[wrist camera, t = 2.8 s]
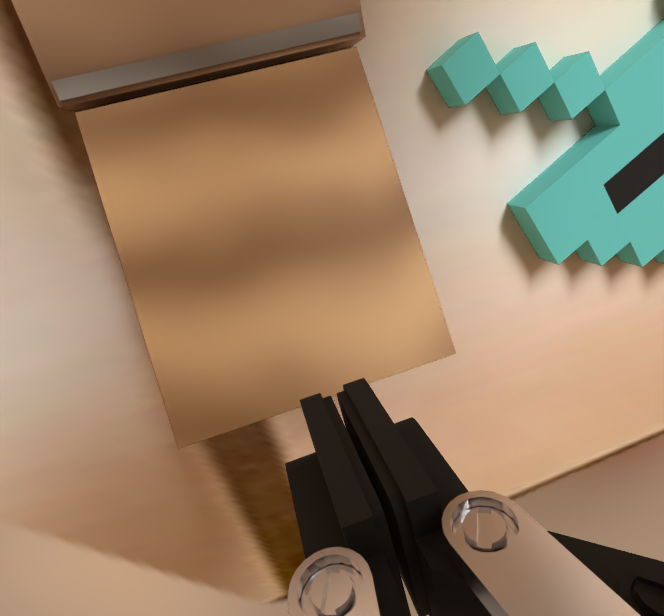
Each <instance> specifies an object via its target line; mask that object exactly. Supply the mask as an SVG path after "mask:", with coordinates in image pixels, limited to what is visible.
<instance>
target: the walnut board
mask: <svg viewBox="0 0 664 616" xmlns="http://www.w3.org/2000/svg"><path fill="white" fill-rule="evenodd" d="M11 1H12V3H13V5H14V8H15V10H16V12H17V14H18V17H19V19H20V21H21V24H22V26H23V28H24V30H25V33H26V35H27V37H28V39H29V42H30V44H31V46H32V49H33V51H34V53H35V55H36V58H37V60H38V62H39V65H40V67H41V69H42V71H43V74H44V76H45V78H46V80H47V83H48V85H49V87H50V90H51V92H52V94H53V96H54V99H55V101H56V103H57V105H58V108H62V109H67V110H72V111H75V110H80V109H84V108H88V107H93V106H97V105H101V104H105V103H110V102H114V101H118V100H122V99H127V98H131V97H135V96H140V95H144V94H148V93H152V92H157V91H161V90H165V89H169V88H174V87H178V86H182V85H187V84H191V83H195V82H199V81H204V80H208V79H212V78H216V77H221V76H225V75H229V74H234V73H238V72H242V71H246V70H251V69H255V68H259V67H263V66H268V65H272V64H276V63H280V62H285V61H289V60H293V59H298V58H302V57H306V56H310V55H315V54H319V53H323V52H327V51H332V50H336V49H340V48H345V47H349V46H353V45H354V44H355V43H357V42H358V41H360V40H361V39H363V38H364V37H366V36H365V30H364V24H363V18H362V12H361V7H360V1H359V0H11Z"/></svg>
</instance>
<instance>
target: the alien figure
mask: <svg viewBox="0 0 664 616" xmlns="http://www.w3.org/2000/svg"><path fill="white" fill-rule="evenodd" d="M426 71H427V73H428V74H429V76H430V78H431V79H432V81H433V83H434V84H435V86H436V88H437V89H438V91H439V93H440V94H441V96H442V98H443V99H444V101H445V103H446V104H447V106H448V107H457V106H464V105H466V104H467V103H469V102H470V101H471V100H472V99H473V98H474V97H475V96H476V95H477V94H479V93H480V92H481V91H482V90H483V89H484V88H485V87H486V88H487V90H488V92H489V94H490V96H491V97H492V99H493V101H494V103H495V105H496V107H497V108H498V110H499V112H500V114H508V113H520V112H522V111H523V110H524V109H525V108H526V107H527V106H528V105H529V104H531V103H532V102H533V101H534V100H535V99H536V98H537V97H538V98H539V100H540V102H541V104H542V106H543V108H544V110H545V112H546V114H547V116H548V118H549V120H564V119H573V118H574V117H575V116H576V115H577V114H578V113H580V112H581V111H582V110H583V109H584V108H585V107H587V109H588V111H589V113H590V115H591V118H592V120H593V122H594V124H595V127H594V128H592V129H591V130H590V131H589V132H588V133H587V134H586V135H584V136H583V137H582V138H581V139H580V140H579V141H578V142H577V143H575V144H574V145H573V146H572V147H571V148H570V149H569V150H567V151H566V152H565V153H564V154H563V155H562V156H561V157H560V158H558V159H557V160H556V161H555V162H554V163H553V164H552V165H550V166H549V167H548V168H547V169H546V170H545V171H544V172H543V173H541V174H540V175H539V176H538V177H537V178H536V179H535V180H533V181H532V182H531V183H530V184H529V185H528V186H527V187H525V188H524V189H523V190H522V191H521V192H520V193H519V194H518V195H516V196H515V197H514V198H513V199H512V200H511V201H510V202H508V203H507V205H508V207H509V208H510V210H511V212H512V213H513V215H514V217H515V218H516V220H517V222H518V223H519V225H520V227H521V228H522V230H523V232H524V233H525V235H526V237H527V238H528V240H529V241H530V243H531V245H532V246H533V248H534V250H535V251H536V253H537V255H538V256H539V258H542V259H544V260H547V261H550V262H552V263H555V264H558V265H559V264H560V263H561V262H562V261H564V260H565V259H566V258H567V257H568V256H569V255H571V254H572V253H573V252H574V251H575V250H576V252H577V254H578V255H579V257H580V259H582V260H585V261H588V262H591V263H594V264H597V265H600V266H602V265H604V264H605V263H606V262H607V261H608V260H609V259H611V258H612V257H613V256H614V255H615V254H617V256H618V258H619V260H620V261H624V262H627V263H630V264H634V265H637V266H640V267H643V266H645V265H646V264H647V263H648V262H649V261H650V260H652V259H653V258H654V257H655V259H656V261H657V262H660V263H664V19H663V20H662V21H661V22H659V23H658V24H657V25H656V26H655V27H654V28H653V29H652V30H650V31H649V32H648V33H647V34H646V35H645V36H644V37H643V38H641V39H640V40H639V41H638V42H637V43H636V44H635V45H634V46H632V47H631V48H630V49H629V50H628V51H627V52H626V53H625V54H623V55H622V56H621V57H620V58H619V59H618V60H617V61H616V62H614V63H613V64H612V65H611V66H610V67H609V68H608V69H607V70H605V71H604V72H603V73H602V74H601V75H600V76H599V74H598V71H597V69H596V67H595V64H594V62H593V60H592V57H591V55H590V53H589V51H588V52H584V53H580V54H576V55H571V56H567V57H564V58H563V59H562V60H560V61H559V62H558V63H557V64H556V65H555V66H554V67H553V68H552V69H550V70H549V69H548V67H547V65H546V63H545V61H544V59H543V57H542V55H541V52H540V50H539V48H538V46H537V44H536V42H534V43H531V44H527V45H524V46H521V47H517V48H514V49H513V50H512V51H510V52H509V53H508V54H507V55H506V56H505V57H504V58H503V59H502V60H500V61H499V62H498V63H497V64H496V65H495V63H494V61H493V59H492V57H491V55H490V54H489V52H488V50H487V48H486V46H485V44H484V42H483V40H482V38H481V36H480V35H479V33H478V32H477V33H474V34H472V35H469V36H467V37H464V38H462V39H459V40H458V41H457V42H456V43H455V44H454V45H453V46H452V47H451V48H450V49H449V50H447V51H446V52H445V53H444V54H443V55H442V56H441V57H440V58H439V59H438V60H437V61H435V62H434V63H433V64H432V65H431V66H430V67H429V68H428V69H427V70H426Z"/></svg>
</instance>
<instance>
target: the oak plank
mask: <svg viewBox="0 0 664 616" xmlns="http://www.w3.org/2000/svg"><path fill="white" fill-rule="evenodd" d="M75 115H76V118H77V121H78V125H79V128H80V131H81V134H82V138H83V141H84V144H85V147H86V151H87V154H88V157H89V160H90V164H91V167H92V170H93V173H94V177H95V180H96V183H97V186H98V190H99V193H100V196H101V199H102V203H103V206H104V209H105V212H106V216H107V219H108V222H109V225H110V229H111V232H112V235H113V238H114V242H115V245H116V248H117V251H118V255H119V258H120V261H121V264H122V268H123V271H124V274H125V277H126V281H127V284H128V287H129V290H130V294H131V297H132V300H133V303H134V307H135V310H136V313H137V316H138V320H139V323H140V326H141V329H142V333H143V336H144V339H145V342H146V345H147V349H148V352H149V355H150V358H151V362H152V365H153V368H154V371H155V375H156V378H157V381H158V384H159V388H160V391H161V394H162V397H163V401H164V404H165V407H166V410H167V414H168V417H169V420H170V423H171V427H172V430H173V433H174V436H175V440H176V443H177V446H178V449H179V448H182V447H185V446H188V445H191V444H194V443H196V442H199V441H202V440H205V439H208V438H211V437H214V436H217V435H220V434H223V433H226V432H229V431H231V430H234V429H237V428H240V427H243V426H246V425H249V424H252V423H255V422H258V421H261V420H264V419H266V418H269V417H272V416H275V415H278V414H281V413H284V412H287V411H290V410H293V409H296V408H299V407H301V403H300V399H303V398H306V397H309V396H312V395H315V394H318V393H321V395H322V397H323V398H324V397H327V396H333V395H336V394H337V393H339V392H342V391H344V389H343V385H344V384H347V383H350V382H353V381H355V380H358V379H361V378H365V380H366V381H367V383H371V382H374V381H377V380H380V379H383V378H386V377H389V376H392V375H395V374H398V373H401V372H403V371H406V370H409V369H412V368H415V367H418V366H421V365H424V364H427V363H430V362H433V361H436V360H438V359H441V358H444V357H447V356H450V355H453V354H456V352H455V349H454V346H453V343H452V340H451V337H450V334H449V331H448V328H447V325H446V322H445V318H444V315H443V312H442V309H441V306H440V303H439V300H438V297H437V294H436V291H435V288H434V285H433V281H432V278H431V275H430V272H429V269H428V266H427V263H426V260H425V257H424V254H423V251H422V248H421V245H420V241H419V238H418V235H417V232H416V229H415V226H414V223H413V220H412V217H411V214H410V211H409V208H408V205H407V201H406V198H405V195H404V192H403V189H402V186H401V183H400V180H399V177H398V174H397V171H396V168H395V165H394V161H393V158H392V155H391V152H390V149H389V146H388V143H387V140H386V137H385V134H384V131H383V128H382V124H381V121H380V118H379V115H378V112H377V109H376V106H375V103H374V100H373V97H372V94H371V91H370V88H369V84H368V81H367V78H366V75H365V72H364V69H363V66H362V63H361V60H360V57H359V54H358V51H357V48H356V47H353V48H349V49H345V50H340V51H336V52H332V53H328V54H323V55H319V56H315V57H311V58H306V59H302V60H298V61H294V62H289V63H285V64H281V65H277V66H272V67H268V68H264V69H259V70H255V71H251V72H247V73H242V74H238V75H234V76H230V77H225V78H221V79H217V80H213V81H208V82H204V83H200V84H196V85H191V86H187V87H183V88H179V89H174V90H170V91H166V92H162V93H157V94H153V95H149V96H144V97H140V98H136V99H132V100H127V101H123V102H119V103H115V104H110V105H106V106H102V107H98V108H93V109H89V110H85V111H81V112H76V113H75Z"/></svg>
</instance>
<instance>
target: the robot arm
mask: <svg viewBox="0 0 664 616" xmlns="http://www.w3.org/2000/svg"><path fill="white" fill-rule="evenodd" d="M343 389H344V391H342V392H339V393H337V397H338V401H339V405H340V408H341V412H342V416H343V419H344V423H345V426H344V423H343V421H342V419H341V417H340V415H339V413H338V410H337V408H336V406H335V404H334V402H333V400H332V397H331V396H327V397H324V398H323V397H322V395H321V393H318V394H315V395H312V396H309V397H306V398H303V399H300V403H301V407H302V410H303V413H304V416H305V419H306V423H307V426H308V429H309V432H310V435H311V438H312V442H313V445H314V448H315V451H316V452H315V453H313V454H310V455H307V456H304V457H302V458H299V459H296V460H293V461H291V462H288V463H285V465H286V471H287V475H288V480H289V484H290V489H291V494H292V498H293V503H294V507H295V512H296V517H297V521H298V526H299V530H300V535H301V540H302V544H303V549H304V553H305V558H306V559H305V560H304V561H303V562H302V564H301V565H300V566H299V567H298V568H297V570H296V571H295V573H294V575H293V577H292V580H291V582H290V585H289V592H288V616H411V614H410V610H409V606H408V603H407V598H406V595H405V591H404V587H403V583H402V579H403V581H404V583H405V586H406V588H407V590H408V592H409V595H410V597H411V600H412V602H413V604H414V606H415V609H416V611H417V613H418V615H419V616H426V615H429V616H664V562H662V561H658V560H655V559H651V558H647V557H643V556H640V555H636V554H632V553H628V552H625V551H621V550H617V549H614V548H610V547H606V546H602V545H598V544H595V543H591V542H588V541H584V540H580V539H576V538H573V537H569V536H565V535H561V534H558V533H554V532H550V531H546V530H545V529H544V528H543V527H542V526H540V525H539V524H538V523H537V522H536V521H535V520H534V519H533V518H531V516H529V515H528V514H527V513H526V512H525V511H524V510H523V509H522V508H521V507H519V506H518V505H517V504H516V503H515V502H513V501H512V500H510V499H509V498H507V497H506V496H503V495H501V494H498V493H495V492H491V491H483V490H479V491H470V492H468V490H467V489H466V488H465V486H464V485H463V484H462V482H461V481H460V479H459V478H458V477H457V475H456V474H455V473H454V471H453V470H452V469H451V467H450V466H449V464H448V463H447V462H446V460H445V459H444V458H443V456H442V455H441V454H440V452H439V451H438V450H437V448H436V447H435V445H434V444H433V443H432V441H431V440H430V439H429V437H428V436H427V435H426V433H425V432H424V431H423V429H422V428H421V426H420V425H419V424H418V422H417V421H416V420H415V419H414V418H412V417H411V418H409V419H406V420H403V421H400V422H398V423H395V424H394V423H393V421H392V420H391V418H390V417H389V415H388V414H387V412H386V411H385V409H384V407H383V406H382V404H381V403H380V401H379V400H378V398H377V397H376V395H375V394H374V392H373V390H372V389H371V387H370V386H369V384H368V383H367V381H366V380H365V378H361V379H358V380H355V381H353V382H350V383H347V384H344V385H343ZM345 427H346V428H345ZM400 574H401V575H400ZM401 577H402V579H401Z"/></svg>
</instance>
